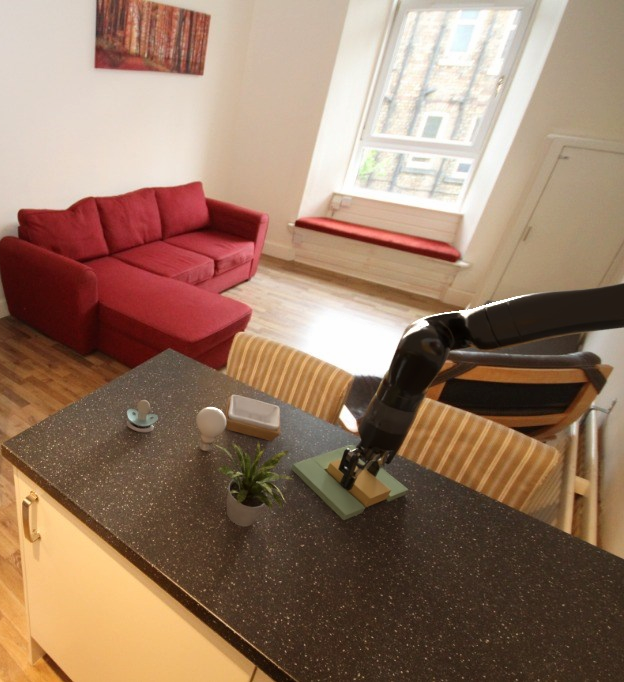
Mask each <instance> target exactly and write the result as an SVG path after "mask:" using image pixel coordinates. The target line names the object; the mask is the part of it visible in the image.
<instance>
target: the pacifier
mask: <svg viewBox="0 0 624 682" xmlns="http://www.w3.org/2000/svg"><path fill="white" fill-rule="evenodd" d="M136 408H137V410H136V409H133V408H129V409H128V410H127V411H126V416H127V419H128V420H127V421H126V426H127V427H128V428H129V429H131V430H133V431H134V432H135V431H136V432H139V433H150V432H153V431H154V424H155V423H157V422H158V419H159V415H157V414H155V413H151V414H150V413H149V412H150V411H151V410H150V409H151V404H150V402H149V401H148V400H146V399H141V400H139V402H137V404H136ZM148 413H149V414H148ZM134 425H136V426H138V427H136V426H134ZM140 427H141V428H140ZM147 427H148V428H147Z"/></svg>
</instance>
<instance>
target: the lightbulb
mask: <svg viewBox="0 0 624 682" xmlns="http://www.w3.org/2000/svg"><path fill="white" fill-rule="evenodd" d="M195 424H196V425H195V426H196V427H197V430H198V431H199V436H200V437H199V438H200V440H199V444H198V447H199V449H200V450H202V451H204V452H210V451H211V450H212V447H213V444H214V442H215V440H216V438H217V437H219V436H220V435H221V434H223V432H225V430H226V429H227V428H226V417H225V413H224V412H223V410H221V409H219V408H217V407H215V406H207V407H204V408H202V409H201V410H199V412H198V413H197V415H196V419H195ZM211 443H212V444H211Z"/></svg>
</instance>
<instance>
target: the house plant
mask: <svg viewBox="0 0 624 682" xmlns="http://www.w3.org/2000/svg"><path fill="white" fill-rule="evenodd" d="M211 444H212V446H216V447H217V448H219V449H220V450H223V451H224V452H225V453H226V454H227V455H228V456H229V457H230V458H231V460H232V462H233V463H234V465H235V467H236V469H237V470H238V471H237V472H235V471H234V470H232V468H230V467H229V466H227V465H222V466H221V467H218V470H219V472H220V473H221V474H223V475H224V476H227V477H229V478H231V479H232V480H230V481H229V483H228V485H227V497H226V516H227V517H228V519H229V521H230V522H231V523H233V524H234V523H235V524H234V525H236V526H238V527H243V528H244V527H245V528H246V527H247V528H248V527H250V526H251V525H253V524H254V522H255V521H256V519H257V518H258V516H259V515H260V513H261V512H262V510H263V509H264V507H265V506H267V507H268V508H269V509H270V511H271V512H273V507H274V504H273V500H274V501H275V502H276V504H277V505H279V507H280V509H281V510H282V508H283V501H284V502H285V504H287V501H286V499H285V498H284V497H285V496H284V494H283V492H282V491H281V490H280V488H279V487H278V486H276V485H275V484H273V483H272V482H273V481H278V480H284V479H285V480H294V478H293V477H291V476H289V475H286V474H278V473H277V472H275V471H273V470H272V469H274V468H277V466H278V465H279V463H280V461H281V460H282V458H283V457H285V456H286V455H288V453H289V452H290V450H284V451H281V452H279V453H276V454H274V455H273V456H272V457H270V458H269V459H268V460H266V461H265V462H264V463H262V464H261V466H260V468H259V469H258V466H259V463H260V460H261V456H262V455H263V453H264V452H265V450H266V448H264V449H262V450H261V444H260V441H259V440H258V441H257V443H256V449H255V451H254V457H253V461H251V456H250V454H248V453H247V452H245V451H244V449H243V448H242V447H241V446H240V445H239V444H235V443H233V442H231V444H232V446H233V447H234V450H235V454H236V456H237V458H238V461H239V464H240V468H239V466H238V465H237V463H236V460H235V459H234V457H233V455H232V454H231V452H230V451H229V450H228V449H227V448H225V447H224V446H221V445H219V444H216V443H211ZM251 462H252V464H251ZM240 469H241V470H240ZM272 489H275V490H277V491H278V493H279V494H280V496H279V495H278V494H277V493H276V492H274V491H273V490H272ZM268 495H269V496H270V497H271V498H272V499H273V500H272V499H271V498H270V497H268ZM281 498H282V499H283V501H282V499H281Z"/></svg>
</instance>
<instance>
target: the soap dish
mask: <svg viewBox="0 0 624 682" xmlns="http://www.w3.org/2000/svg"><path fill="white" fill-rule="evenodd" d="M224 415H225V417H226V428H225V429H226V430H228V431H231V432H235V433H239V434H243V435H246V436H249V437H254V438H258V439H261V440H266V441H267V442H269V441H270V442H272V441H273V440H274V439H276V438H277V437H279V436H280V435H281V409H280V406H278V405H275V404H272V403H269V402H265V401H261V400H258V399H254V398H251V397H245V396H242V395H239V394H238V395H237V394H232V395H230V396H228V398H227V403H226V408H225V413H224Z"/></svg>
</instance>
